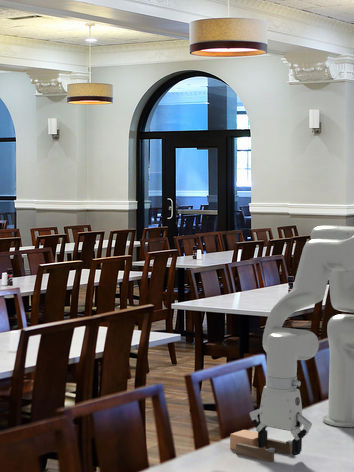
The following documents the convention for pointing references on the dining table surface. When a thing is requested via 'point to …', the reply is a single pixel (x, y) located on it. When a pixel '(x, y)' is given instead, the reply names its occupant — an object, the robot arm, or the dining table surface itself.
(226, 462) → the dining table surface
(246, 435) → the light orange block
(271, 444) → the brown wooden rail pair
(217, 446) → the dining table surface
